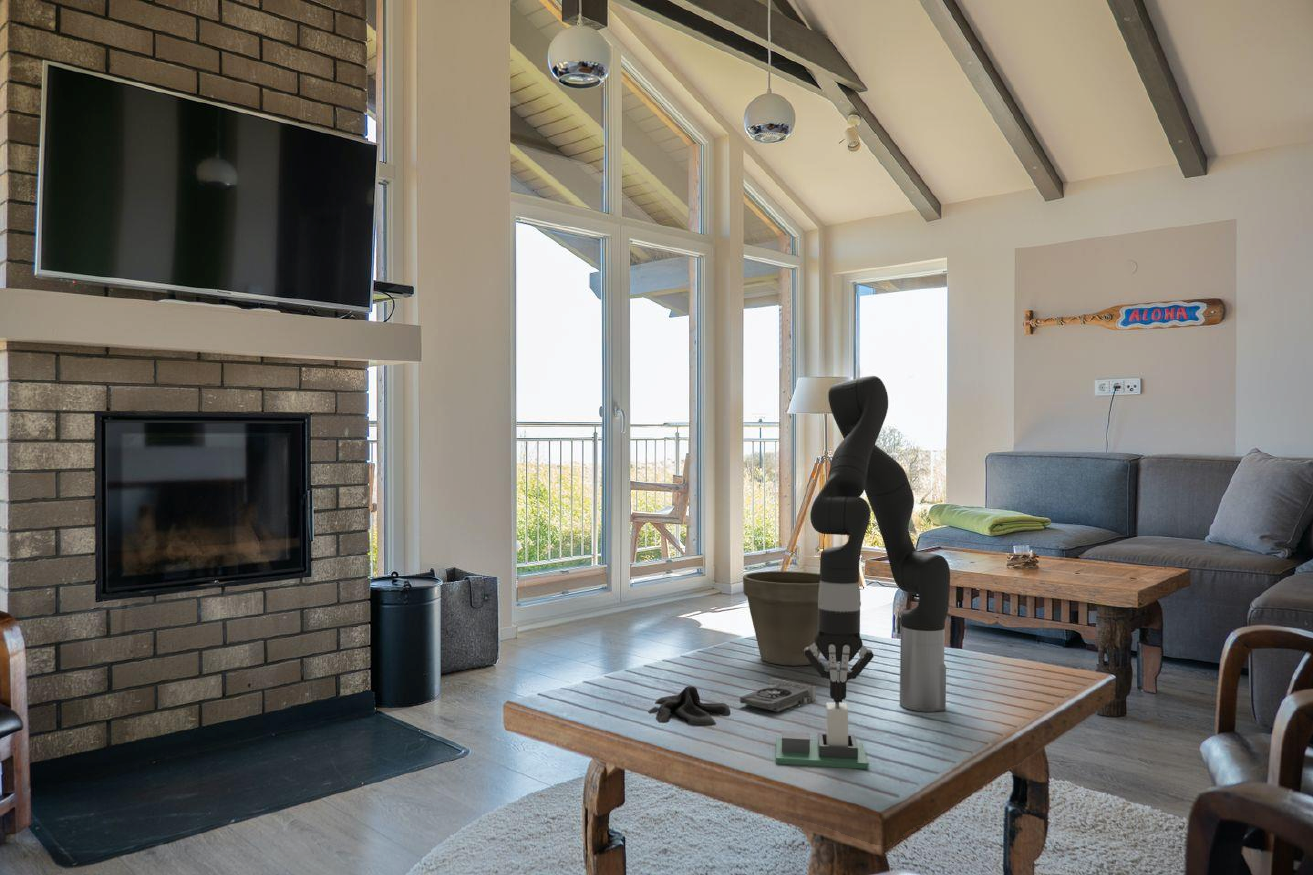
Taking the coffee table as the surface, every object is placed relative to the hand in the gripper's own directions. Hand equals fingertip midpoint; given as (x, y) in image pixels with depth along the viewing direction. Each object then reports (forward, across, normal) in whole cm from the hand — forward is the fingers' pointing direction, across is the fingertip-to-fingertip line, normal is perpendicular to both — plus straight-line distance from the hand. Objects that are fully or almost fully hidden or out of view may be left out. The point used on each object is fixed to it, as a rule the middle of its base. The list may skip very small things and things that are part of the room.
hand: (837, 700), depth 173 cm
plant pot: (+10, +8, -74) cm, 75 cm away
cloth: (+11, +30, -22) cm, 39 cm away
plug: (+9, 0, 0) cm, 9 cm away
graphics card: (+11, +12, -34) cm, 37 cm away
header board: (+10, +3, 0) cm, 11 cm away
